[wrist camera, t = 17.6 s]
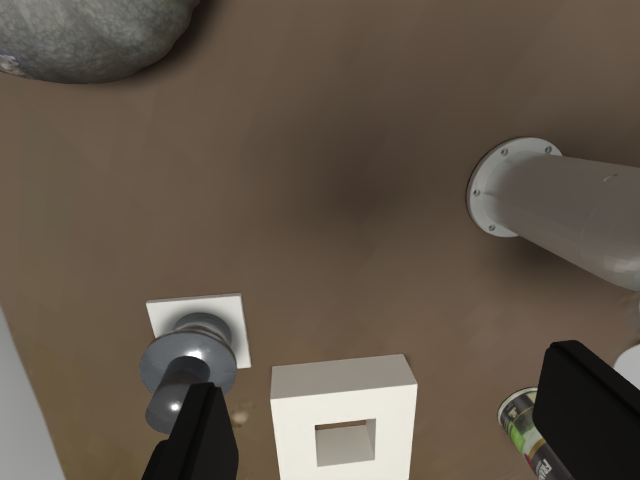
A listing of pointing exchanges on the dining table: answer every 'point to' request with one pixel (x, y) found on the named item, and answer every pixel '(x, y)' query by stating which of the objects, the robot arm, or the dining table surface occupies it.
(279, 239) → the dining table surface
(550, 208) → the robot arm
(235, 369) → the grey round knobbed piece
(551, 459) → the coffee can
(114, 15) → the gourd
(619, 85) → the dining table surface
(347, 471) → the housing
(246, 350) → the mat
